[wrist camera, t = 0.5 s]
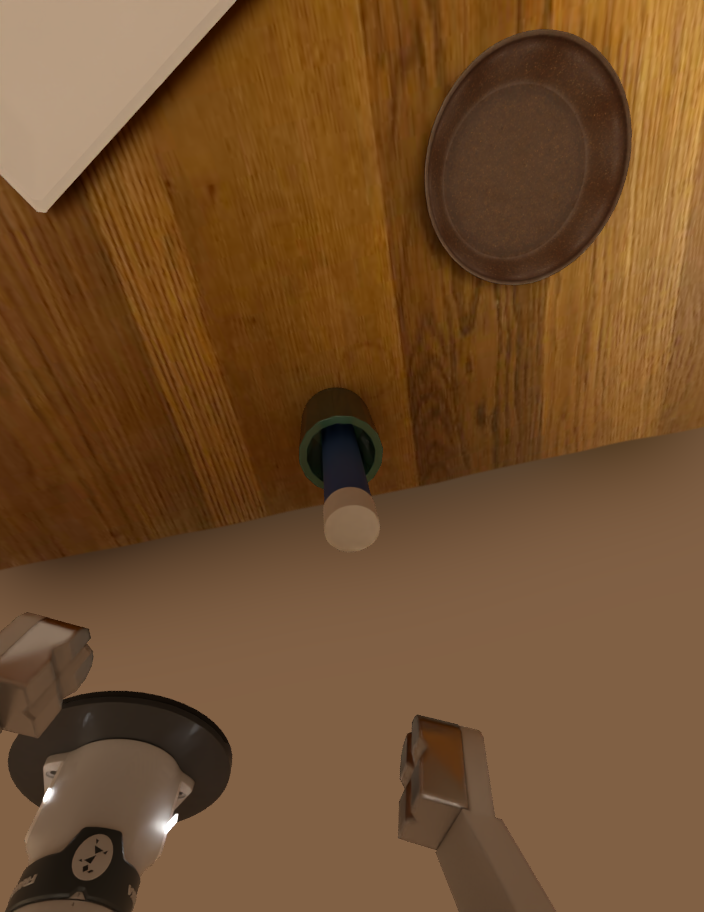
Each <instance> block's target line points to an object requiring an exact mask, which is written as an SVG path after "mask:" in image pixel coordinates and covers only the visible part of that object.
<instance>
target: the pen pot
mask: <svg viewBox="0 0 704 912" xmlns="http://www.w3.org/2000/svg"><path fill="white" fill-rule="evenodd" d="M336 423H338V424H351V425H353V427H354V431H355V435H356V439H357V443H358V447H359V451H360V455H361V459H362V463H363V467H364V471H365V474H366V478H367V482H369V481H370V480H371V479H373V478H374V476H375V475H376V473H377V471H378V469H379V468H380V466H381V463H382V455H383V447H382V444H381V441H380V438H379V435H378V433H377V430H376V428H375V425H374V423H373V420H372V418H371V415H370V413H369V410H368V407H367V405H366V404H365V402H364V401H363V400H362V398H361V397H359V396H358V395H357V394H356V393H354V392H352V391H350V390H348V389H344V388H328V389H325V390H322V391H320V392H318V393H317V394H315V395H314V396H313V397H312V398H311V399H310V400H309V401H308V402H307V404H306V406H305V408H304V411H303V414H302V421H301V433H300V445H299V462H300V465H301V467H302V470H303V472H304V474H305V476H306V477H307V478H308V479H309V480H310V481H311V482H312V483H314V484H315V485H316V486H317V487H320V488H322V489H324V480H323V459H322V437H321V429H323V428H325V427H328V426H330V425H333V424H336Z"/></svg>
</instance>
